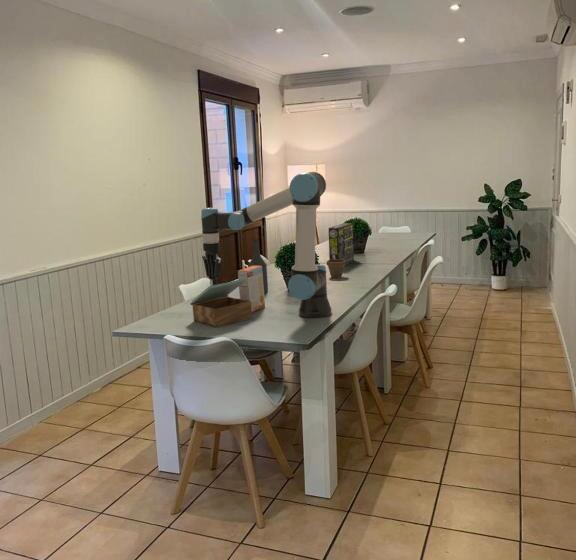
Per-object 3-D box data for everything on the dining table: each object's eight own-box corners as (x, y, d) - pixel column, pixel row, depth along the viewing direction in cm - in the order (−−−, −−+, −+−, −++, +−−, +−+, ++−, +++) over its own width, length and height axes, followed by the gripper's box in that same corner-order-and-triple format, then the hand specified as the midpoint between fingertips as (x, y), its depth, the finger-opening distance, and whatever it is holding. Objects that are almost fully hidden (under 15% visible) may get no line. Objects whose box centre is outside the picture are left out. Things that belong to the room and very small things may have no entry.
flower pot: (350, 276, 355) (349, 260, 353) (337, 279, 348) (336, 262, 346) (336, 274, 364) (335, 258, 362) (323, 277, 356) (322, 261, 354)
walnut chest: (252, 318, 269) (251, 299, 267) (215, 327, 255) (214, 308, 254) (228, 311, 283) (226, 294, 281) (192, 320, 270) (190, 302, 268)
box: (344, 260, 417) (343, 222, 412) (354, 260, 414) (353, 222, 409) (329, 268, 387) (327, 228, 382) (340, 268, 384) (338, 228, 379)
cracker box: (255, 306, 291) (252, 265, 287) (265, 307, 289) (262, 265, 285) (240, 313, 279) (236, 270, 275) (250, 314, 276) (247, 270, 272)
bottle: (251, 290, 330) (247, 237, 324) (268, 290, 329) (265, 237, 323) (249, 294, 319) (245, 240, 314) (267, 293, 319) (263, 239, 313)
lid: (246, 280, 267) (245, 278, 267) (210, 288, 254) (209, 286, 255) (227, 295, 280) (226, 293, 280) (192, 303, 267) (191, 301, 268)
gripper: (226, 242, 263) (228, 293, 269) (210, 239, 273) (212, 288, 278) (212, 244, 259) (214, 296, 264) (196, 241, 268) (199, 291, 273)
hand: (213, 292), depth 271 cm, fingers closed
